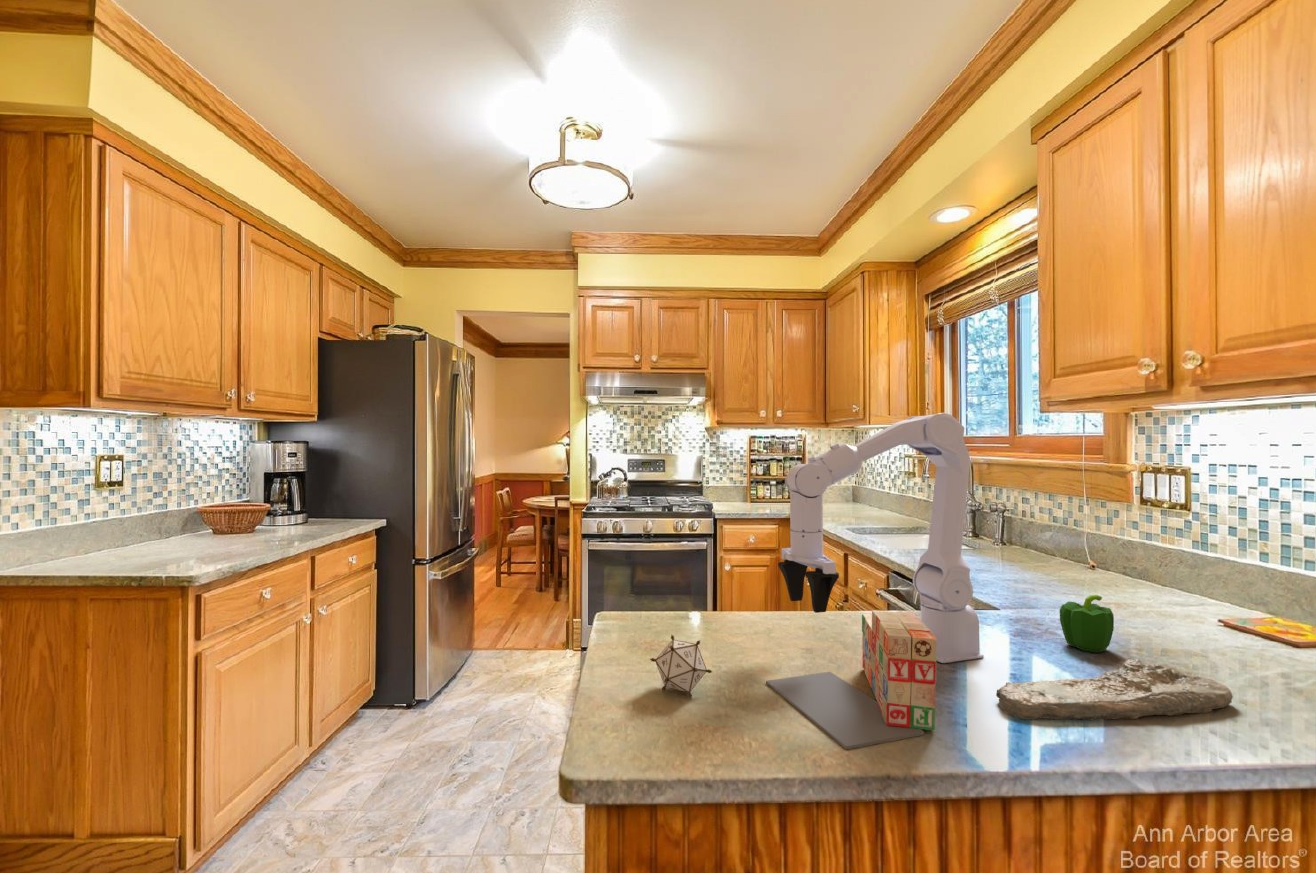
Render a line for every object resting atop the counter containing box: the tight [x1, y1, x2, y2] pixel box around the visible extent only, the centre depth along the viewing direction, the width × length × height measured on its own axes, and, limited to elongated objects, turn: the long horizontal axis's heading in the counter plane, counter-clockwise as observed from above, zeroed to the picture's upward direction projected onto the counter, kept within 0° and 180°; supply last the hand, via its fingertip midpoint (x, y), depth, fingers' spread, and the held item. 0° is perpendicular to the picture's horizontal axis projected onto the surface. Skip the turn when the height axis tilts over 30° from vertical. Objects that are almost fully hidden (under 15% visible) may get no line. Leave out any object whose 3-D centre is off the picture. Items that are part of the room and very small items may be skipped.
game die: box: [649, 634, 713, 699], centre depth 88 cm, size 9×8×10 cm
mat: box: [765, 671, 925, 751], centre depth 82 cm, size 12×21×1 cm, turn 17°
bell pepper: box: [1059, 594, 1115, 653], centre depth 105 cm, size 8×8×10 cm
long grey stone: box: [995, 658, 1233, 721], centre depth 82 cm, size 35×5×10 cm
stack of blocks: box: [861, 610, 937, 731], centre depth 85 cm, size 21×6×12 cm, turn 169°
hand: (807, 605), depth 101 cm, fingers open, 7 cm apart
